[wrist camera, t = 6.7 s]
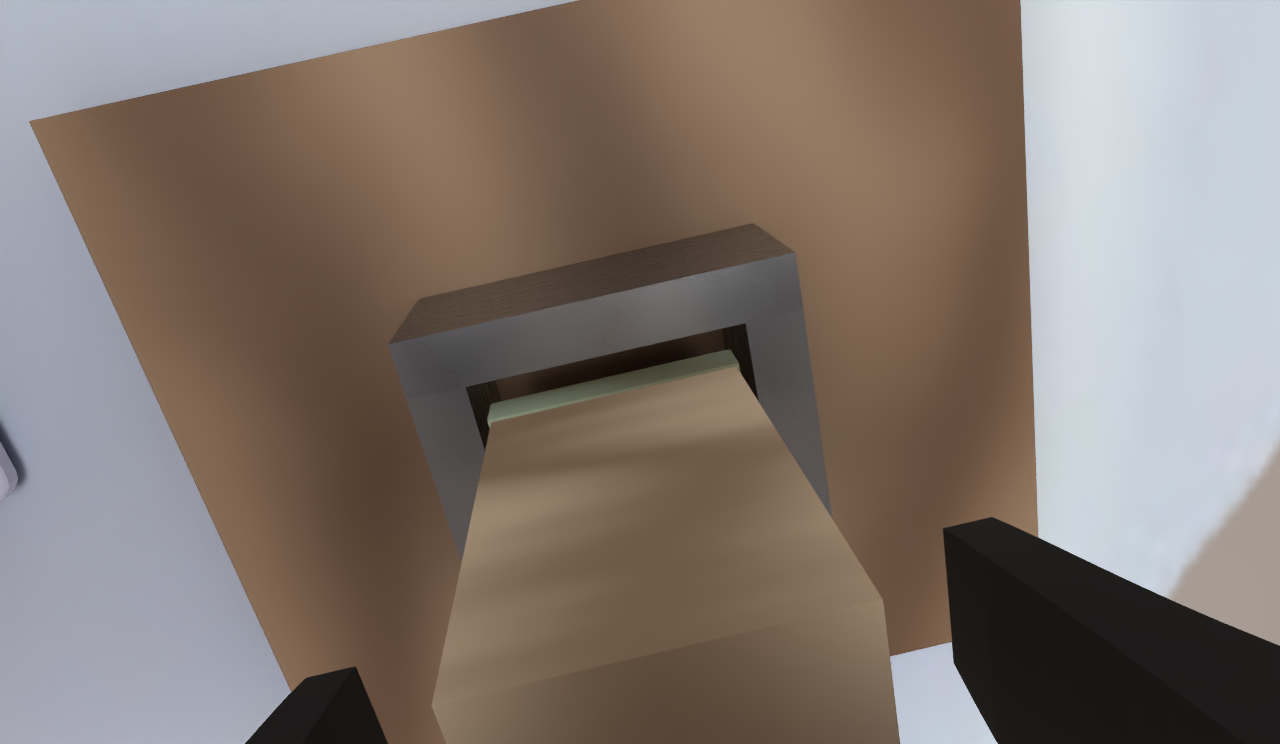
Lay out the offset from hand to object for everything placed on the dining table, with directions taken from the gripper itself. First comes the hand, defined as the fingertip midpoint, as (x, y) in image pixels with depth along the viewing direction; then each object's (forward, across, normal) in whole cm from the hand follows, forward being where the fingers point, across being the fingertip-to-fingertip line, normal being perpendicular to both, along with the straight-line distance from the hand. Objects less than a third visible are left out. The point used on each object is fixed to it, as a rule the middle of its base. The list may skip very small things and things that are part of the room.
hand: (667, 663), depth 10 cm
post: (+5, 0, 0) cm, 5 cm away
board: (+9, 0, 0) cm, 9 cm away
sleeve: (+8, 0, 0) cm, 8 cm away
